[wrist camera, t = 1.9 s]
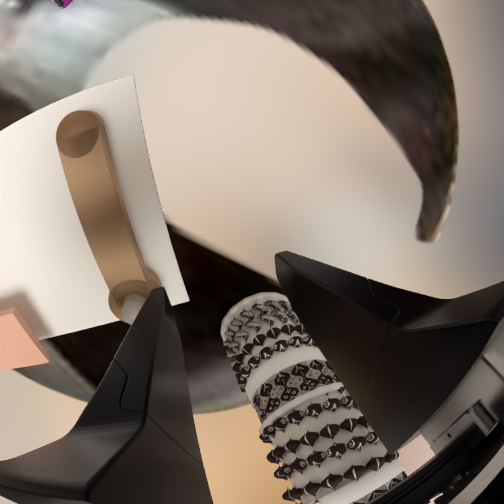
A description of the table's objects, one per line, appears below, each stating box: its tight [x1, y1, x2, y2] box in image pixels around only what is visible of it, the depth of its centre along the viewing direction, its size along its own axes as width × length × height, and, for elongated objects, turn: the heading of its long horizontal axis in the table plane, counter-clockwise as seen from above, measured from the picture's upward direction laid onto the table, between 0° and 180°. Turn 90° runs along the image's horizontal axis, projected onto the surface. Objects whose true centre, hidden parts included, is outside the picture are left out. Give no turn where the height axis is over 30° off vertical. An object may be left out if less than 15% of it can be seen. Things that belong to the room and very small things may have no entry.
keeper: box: [0, 307, 51, 370], centre depth 17 cm, size 6×9×4 cm, turn 97°
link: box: [56, 110, 161, 324], centre depth 17 cm, size 17×4×3 cm, turn 7°
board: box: [0, 75, 189, 340], centre depth 17 cm, size 19×23×1 cm
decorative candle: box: [220, 292, 407, 504], centre depth 18 cm, size 9×9×25 cm
